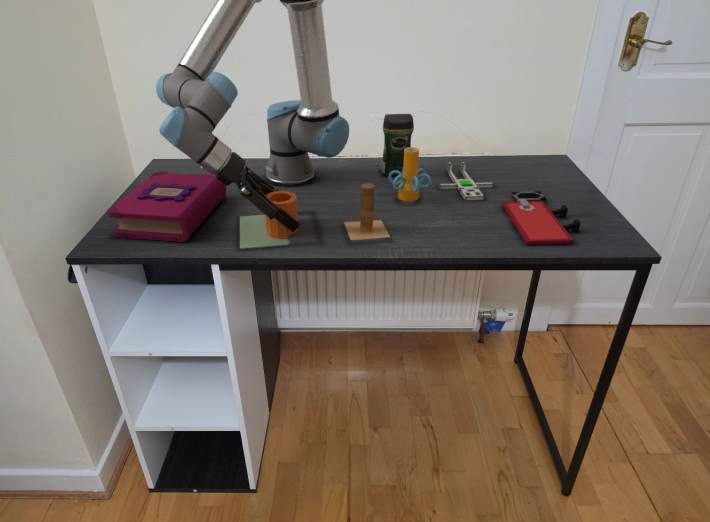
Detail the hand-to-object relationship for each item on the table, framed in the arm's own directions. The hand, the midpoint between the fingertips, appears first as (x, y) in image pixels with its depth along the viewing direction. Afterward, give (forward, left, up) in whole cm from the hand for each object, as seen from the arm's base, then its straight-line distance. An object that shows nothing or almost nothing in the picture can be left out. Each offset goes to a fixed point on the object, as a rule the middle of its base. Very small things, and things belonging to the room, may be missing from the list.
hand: (295, 220), depth 132 cm
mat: (-2, -4, -3) cm, 6 cm away
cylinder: (-14, +34, -4) cm, 37 cm away
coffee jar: (-36, +36, -4) cm, 51 cm away
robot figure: (-22, +54, -4) cm, 58 cm away
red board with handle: (+3, +65, -4) cm, 65 cm away
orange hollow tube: (0, -3, -3) cm, 4 cm away
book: (-15, -32, -3) cm, 36 cm away
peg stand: (+4, +18, -3) cm, 18 cm away
